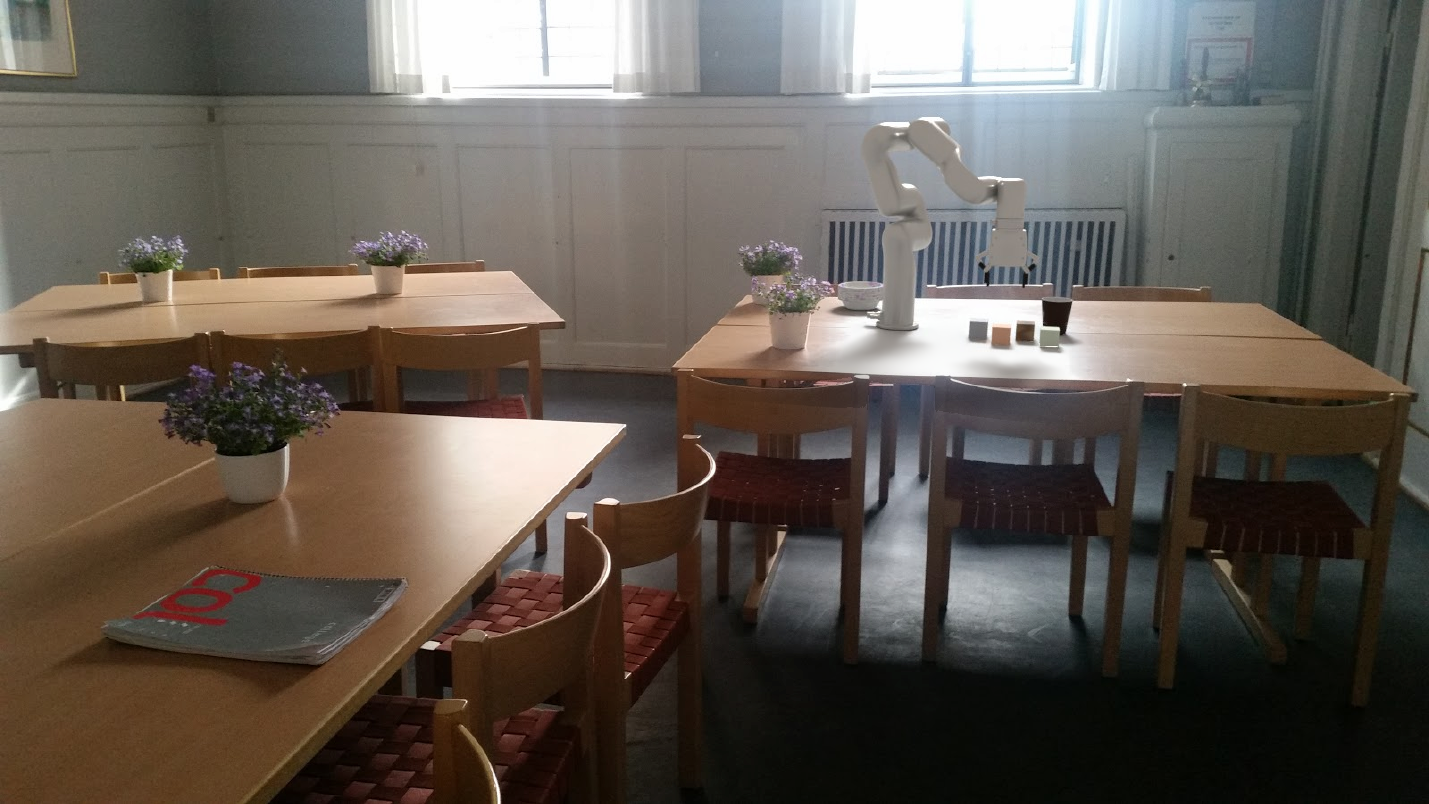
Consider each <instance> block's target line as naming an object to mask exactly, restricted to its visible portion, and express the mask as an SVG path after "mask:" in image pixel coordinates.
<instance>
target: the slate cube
mask: <svg viewBox="0 0 1429 804" xmlns="http://www.w3.org/2000/svg"><path fill="white" fill-rule="evenodd" d="M968 325H969V326H968V327H969V329H968V338H969V339H979V340H980V339H982V340H983V339H984V340H987V339H988V330H989V329H988V327H989V318H979V317H978V318H977V317H970V319H969V324H968Z"/></svg>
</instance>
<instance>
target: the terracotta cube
mask: <svg viewBox="0 0 1429 804" xmlns="http://www.w3.org/2000/svg"><path fill="white" fill-rule="evenodd" d="M1011 332H1012V324H1005V323H1004V324H1003V323H992V330H991V340H990V341H991V342H990V344H991V345H995V344H998V345H997V346H999V345H1000V346H1010V345H1011V344H1010V343H1011Z"/></svg>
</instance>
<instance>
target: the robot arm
mask: <svg viewBox="0 0 1429 804" xmlns="http://www.w3.org/2000/svg"><path fill="white" fill-rule="evenodd" d="M912 151H918V152H919V153H920V154H922V155H923V156H924V157H925V158H926V159H928V161H930V162H931V164H933V166H935V167H936V168H937V169H938V170H939V171H940V174H941V177H942V179H943V181H944V183H945V184H946V185H947V187H948V188H949V190H951V191H952V192H953V193H954V194H955V195H956V196H957V197H958V198H959V199H961V200H962V201H963V202H965V203H966V204H967V205H970V206H974V207H975V206H976V207H977V206H982V205H983V206H984V205H993V204H996V206H995V218H994V219H990V220H989V222H990V223H989V225H990V226H991V225H992V226H993V227H994V228H992V230H991V234H990V236H989V237H990V239H989V244H988V245H989V246H988V249H986V250H984V251H982V252H980V253H978V254H976V255H975V256H974V257H975V260H976V262H977V265H978V266H979V267H980V269H981V270H982V271H983V272H984V277H983V278H984V279H983V283H984V284H986V285H985V287H987V288H988V287H990V282H991V281H990V279H991V272H990V270H991V268H992V267H1002V268H1003V267H1004V268H1005V267H1008V268H1021V269H1022V270H1023V273H1022V284H1021V287H1022V289H1025V287H1026V286H1027V285H1028V283H1029V274H1030V272H1033V270H1034V269H1035V268H1036V267H1037V266H1038V263H1039V262H1040V261H1041V257H1040V256H1039V255H1036V254H1034V253H1033V252H1031V251H1029V250H1028V236H1027V235H1028V234H1027V229H1024V224H1025V210H1026V197H1027V195H1026V194H1027V182H1026V180H1025V179H1023V178H1015V177H1014V178H1011V177H1010V178H1009V177H1008V178H1002V177H998V176H979V177H977V175H975V174H974V173H973V172H971V170H969V168H967V166H966V165H964V163H963V161H962V159H961V158H962V155H963V147H962V146H961V145H960V144H959V143H958V142H957V141H955V140H954V139H953V137H951V127H950V125H949V124H948V122H947V121H946V120H944V119H943V118H940V117H920V118H917V119H915V120H913V121H906V122H905V121H904V122H881V123H877V124H874V125H873V126H872V127H870V128H869V129H868V130H867V131H866V132H865V134H864V136H863V138H862V141H861V145H860V154H861V155H860V156H861V160H862V163H863V165H864V168H865V170H866V174H867V176H868V179H869V184H870V187H871V190H872V195H873V197H874V201H875V205H876V207H877V211H878V212H879V214H880V215H881V216H882V217H885V218H890V219H891V218H892V219H893V218H898V219H899V220H896V221H893V222H891V223H889V224H888V225H887V226H886V227H885V228H884V230H883V232H882V235H881V245H882V251H883V280H882V284H883V300H882V305H881V310H880V311H877V312H874V311H867V312H866V318H867V319H871V320H877V321H875V323H876V324H875V325H876V327H877V328H880V329H883V330H891V331H911V330H916V329H918V328H919V322H917V321H915V317H914V316H915V301H916V300H915V297H916V279H917V278H916V277H917V262H916V258H915V254H914V252H916V251H921V250H924V249H926V248H928V246H929V245H930V244H931V243H932V239H933V228H932V224H931V223H932V222H931V220H930V217H929V213H928V211H927V206H926V204H925V200H924V198H923V195H922V193H921V191H920V190H919V189H918V188H917V187H916V186H915V185H913V184H910V183H902V181H901V179H900V177H899V172H898V169H897V166H896V164H895V162H894V161H893V160H892V159H891V157H890V153H902V152H904V153H905V152H912ZM986 256H988V257H987V258H988V259H987V262H988V263H987V264H985V263H984V262H983V259H982V258H985V257H986ZM1027 257H1028V258H1030V259H1032V260H1033V261H1032V262H1031V264H1030V265H1027V260H1028V258H1027Z"/></svg>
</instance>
